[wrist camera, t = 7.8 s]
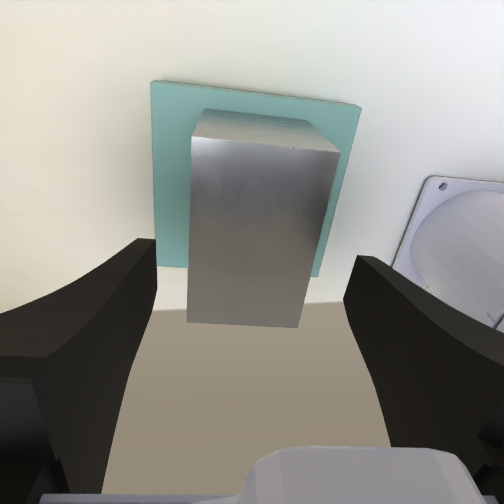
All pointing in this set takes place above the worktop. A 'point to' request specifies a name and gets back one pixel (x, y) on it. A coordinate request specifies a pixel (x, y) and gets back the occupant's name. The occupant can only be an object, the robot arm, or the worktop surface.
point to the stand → (179, 151)
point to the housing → (255, 216)
